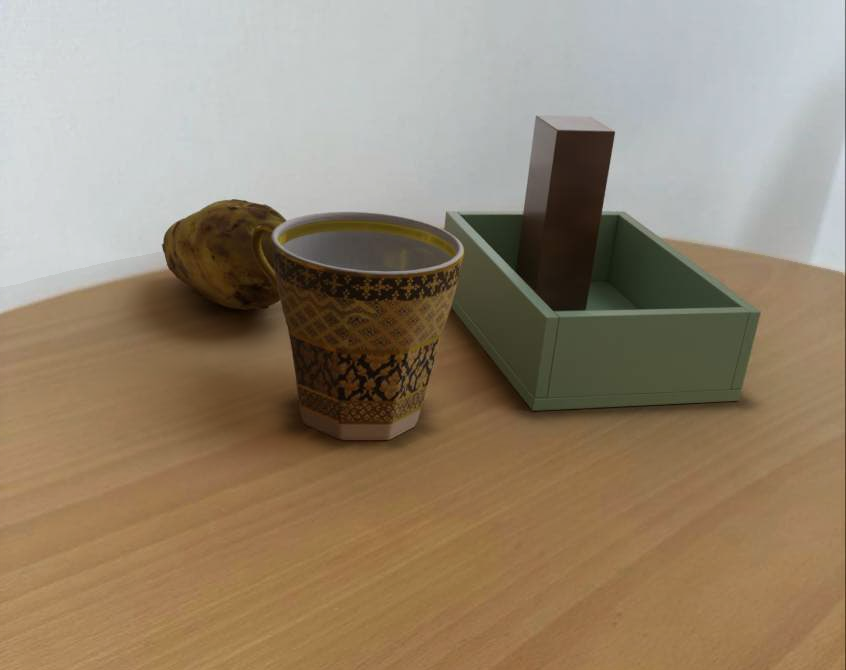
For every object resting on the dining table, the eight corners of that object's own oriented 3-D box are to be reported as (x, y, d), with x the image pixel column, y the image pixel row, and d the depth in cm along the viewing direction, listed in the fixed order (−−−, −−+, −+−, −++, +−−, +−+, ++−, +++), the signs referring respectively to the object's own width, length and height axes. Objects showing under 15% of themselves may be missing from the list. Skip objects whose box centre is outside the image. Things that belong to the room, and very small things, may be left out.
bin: (611, 287, 86) (624, 211, 83) (739, 401, 71) (761, 311, 68) (438, 291, 83) (445, 210, 80) (532, 411, 67) (546, 317, 64)
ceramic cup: (480, 415, 66) (501, 244, 61) (372, 476, 59) (385, 288, 54) (308, 349, 72) (313, 188, 67) (191, 397, 65) (187, 221, 60)
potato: (280, 276, 83) (282, 163, 78) (307, 348, 72) (311, 221, 68) (162, 276, 81) (157, 159, 76) (171, 350, 70) (167, 219, 66)
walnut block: (564, 289, 83) (591, 116, 77) (586, 310, 80) (615, 131, 73) (512, 290, 82) (535, 115, 75) (532, 311, 79) (557, 129, 72)
